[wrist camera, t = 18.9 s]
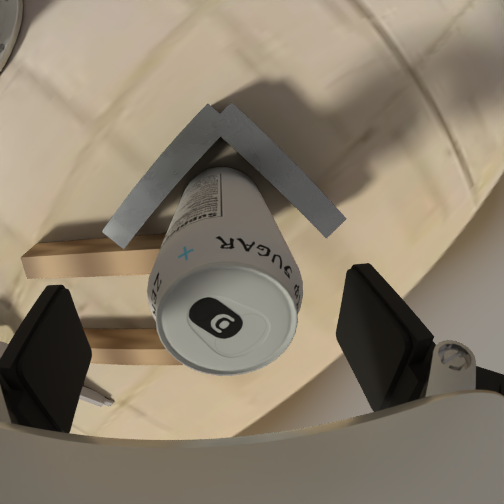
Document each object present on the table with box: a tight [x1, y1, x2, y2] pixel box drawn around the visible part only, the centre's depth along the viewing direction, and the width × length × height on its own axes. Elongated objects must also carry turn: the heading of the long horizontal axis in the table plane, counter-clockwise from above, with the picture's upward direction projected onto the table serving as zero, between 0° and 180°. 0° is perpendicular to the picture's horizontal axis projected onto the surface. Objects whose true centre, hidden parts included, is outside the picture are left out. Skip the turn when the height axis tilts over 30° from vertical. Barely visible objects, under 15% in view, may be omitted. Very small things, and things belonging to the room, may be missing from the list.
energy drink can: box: [147, 167, 303, 376], centre depth 17 cm, size 6×6×15 cm
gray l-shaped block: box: [102, 102, 346, 249], centre depth 21 cm, size 9×17×4 cm, turn 91°
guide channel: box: [21, 234, 183, 365], centre depth 25 cm, size 13×12×3 cm
